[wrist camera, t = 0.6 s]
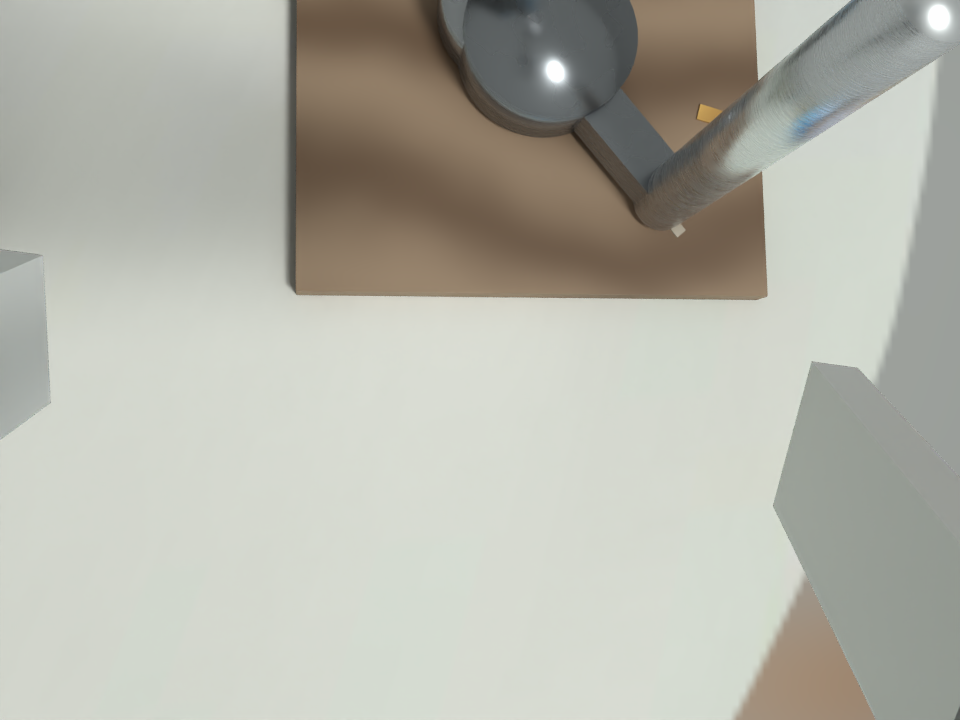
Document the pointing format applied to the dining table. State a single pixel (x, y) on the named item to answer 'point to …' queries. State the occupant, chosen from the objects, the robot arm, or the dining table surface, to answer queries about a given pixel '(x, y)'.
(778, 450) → the dining table surface
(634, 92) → the dial plate
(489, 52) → the crank handle
